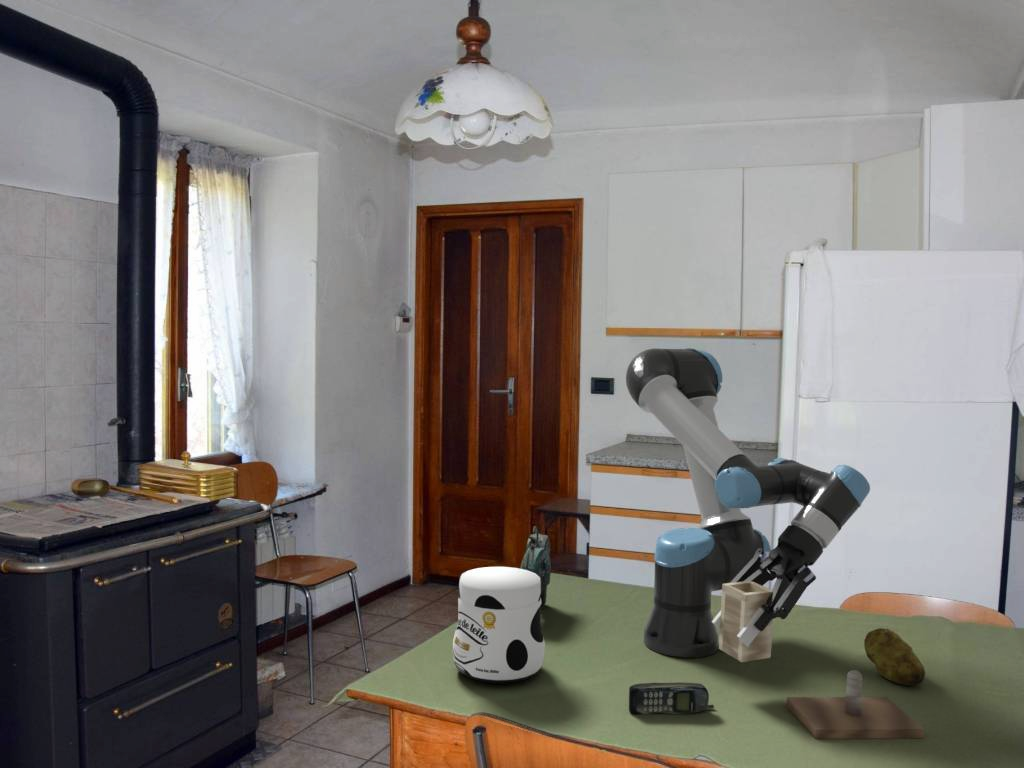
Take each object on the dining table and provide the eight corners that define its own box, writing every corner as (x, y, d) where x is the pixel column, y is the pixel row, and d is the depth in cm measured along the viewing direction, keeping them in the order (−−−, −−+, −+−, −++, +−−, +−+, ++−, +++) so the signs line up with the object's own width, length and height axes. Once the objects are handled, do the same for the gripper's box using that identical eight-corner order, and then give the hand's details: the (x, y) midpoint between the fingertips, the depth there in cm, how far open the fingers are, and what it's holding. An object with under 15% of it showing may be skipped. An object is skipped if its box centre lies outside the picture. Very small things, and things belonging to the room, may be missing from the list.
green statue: (527, 600, 203) (530, 517, 201) (554, 603, 201) (557, 519, 200) (511, 628, 183) (513, 537, 182) (540, 631, 182) (543, 539, 181)
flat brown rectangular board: (815, 738, 136) (817, 685, 136) (786, 705, 148) (788, 656, 148) (923, 738, 137) (926, 685, 137) (886, 705, 149) (889, 657, 149)
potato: (882, 689, 156) (885, 646, 156) (857, 662, 169) (859, 623, 169) (928, 691, 156) (931, 648, 155) (900, 664, 169) (902, 624, 168)
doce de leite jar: (436, 681, 155) (438, 584, 154) (473, 649, 171) (475, 560, 170) (526, 698, 149) (529, 597, 148) (555, 662, 165) (558, 571, 164)
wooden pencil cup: (741, 662, 148) (745, 595, 147) (718, 648, 154) (722, 583, 153) (770, 657, 151) (774, 591, 150) (747, 644, 157) (750, 580, 156)
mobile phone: (630, 689, 142) (718, 685, 144) (626, 681, 145) (712, 678, 147) (630, 717, 143) (717, 714, 144) (626, 709, 146) (712, 706, 147)
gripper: (857, 565, 148) (777, 668, 143) (780, 536, 166) (707, 627, 161) (836, 537, 146) (754, 641, 140) (760, 511, 163) (685, 603, 158)
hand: (729, 633), depth 151 cm, fingers closed on wooden pencil cup, 6 cm apart
